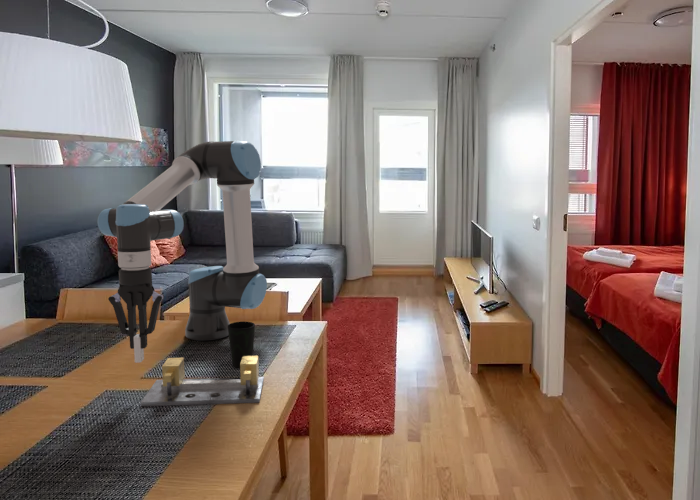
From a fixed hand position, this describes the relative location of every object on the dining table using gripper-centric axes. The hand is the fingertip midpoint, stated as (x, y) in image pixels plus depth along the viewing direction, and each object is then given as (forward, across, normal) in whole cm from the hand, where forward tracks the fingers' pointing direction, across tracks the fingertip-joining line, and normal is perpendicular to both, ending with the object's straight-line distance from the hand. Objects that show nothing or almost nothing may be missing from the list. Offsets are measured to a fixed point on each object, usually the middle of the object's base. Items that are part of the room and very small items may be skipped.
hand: (139, 360), depth 136 cm
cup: (+9, +23, +18) cm, 31 cm away
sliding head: (+7, +8, -1) cm, 11 cm away
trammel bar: (+8, +17, -1) cm, 19 cm away
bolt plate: (+9, +16, -1) cm, 18 cm away
